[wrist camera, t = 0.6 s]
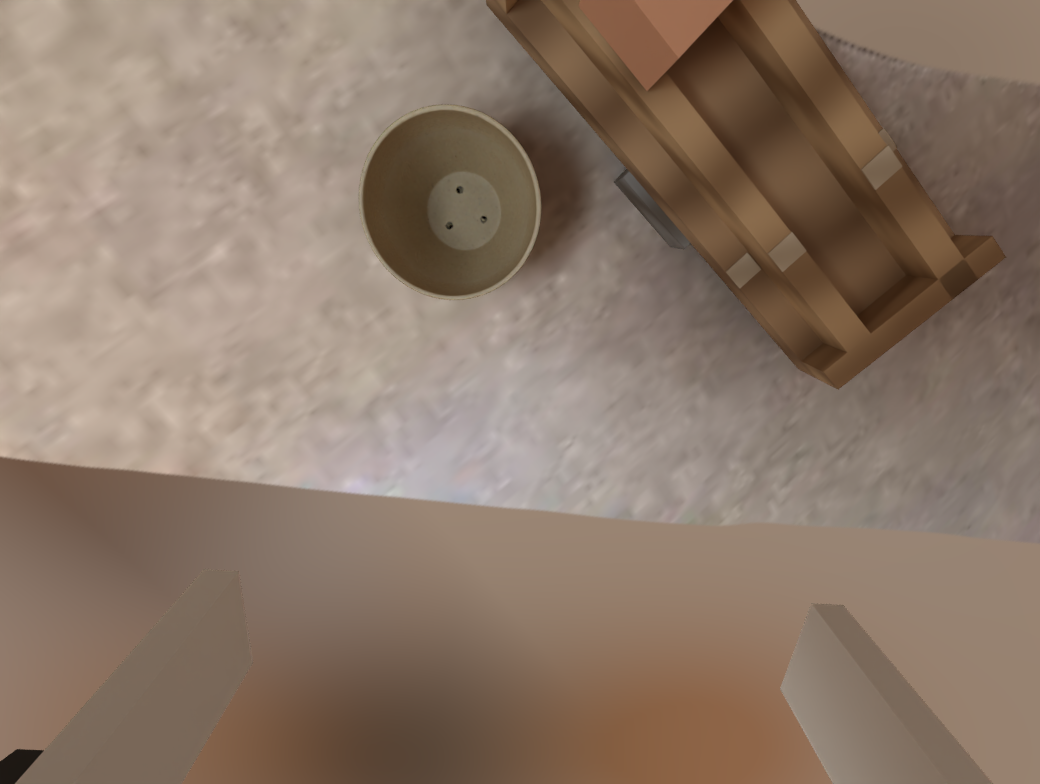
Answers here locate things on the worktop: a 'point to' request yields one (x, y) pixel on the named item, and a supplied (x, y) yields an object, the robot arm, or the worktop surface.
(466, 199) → the flower pot
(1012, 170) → the worktop surface
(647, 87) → the block
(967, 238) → the wooden crate
